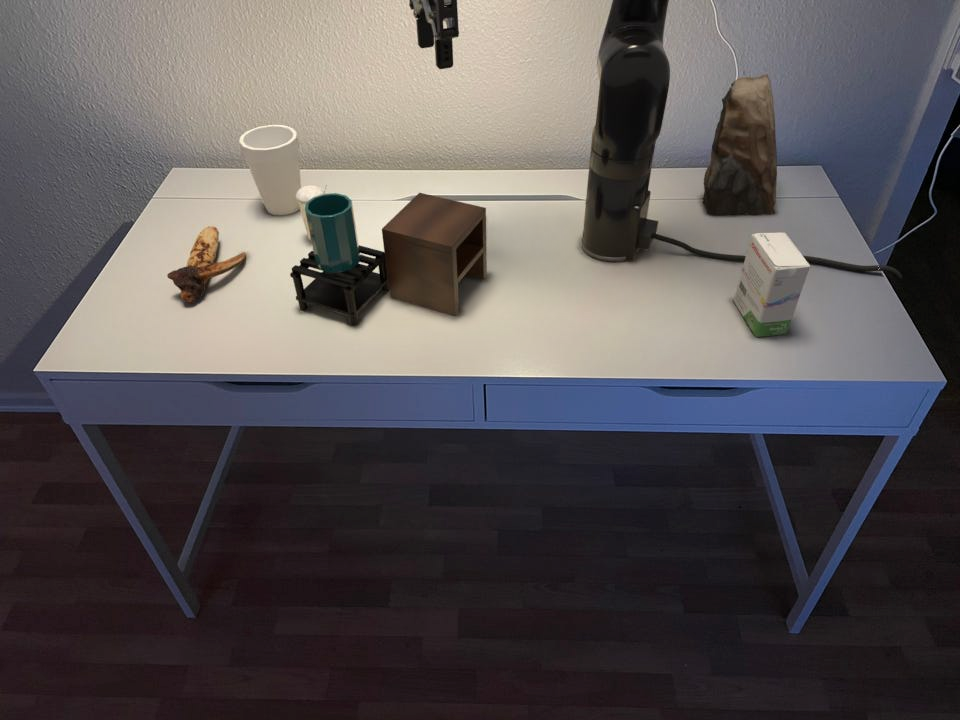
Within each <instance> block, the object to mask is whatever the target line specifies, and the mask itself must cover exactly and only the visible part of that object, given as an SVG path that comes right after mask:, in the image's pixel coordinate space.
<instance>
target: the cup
mask: <svg viewBox="0 0 960 720" xmlns="http://www.w3.org/2000/svg"><path fill="white" fill-rule="evenodd" d="M305 212H306V217H307V222H308V227H309V232H310V237H311V241H310V242H311V246H312V251H314V256H315V261H316V265H317V266H318V267H319V268H320V269H321V270H320V271H322V270H323V271H326V272H330V273H337V272H345V271H347V270H350V269H352V268H354V267H355V266H356V265H357V264H358V263H359V264H360V263H361V262H360V255H361V253H360V251H359V245H360V244H359V237H358V232H357V226H356V219H355V213H354V206H353V200H352V199H351V198H349V197H348V196H347V195H345V194H341V193H337V192H333V193H325V194H322V195H319V196H316V197H313V198H312V199H311V200H309V201H308V202H307V203H306V206H305ZM323 271H322V272H323Z"/></svg>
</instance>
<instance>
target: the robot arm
mask: <svg viewBox="0 0 960 720" xmlns="http://www.w3.org/2000/svg"><path fill="white" fill-rule="evenodd" d="M669 3H670V1H669V0H612V2H611V5H610V9H609V13H608V16H607V20H606V24H605V27H604V30H603V34H602V37H601V41H600V44H599V48H598V52H597V56H596V57H597V58H596V68H597V74H598V80H599V86H598V97H597V98H598V100H597V107H596V116H595V123H594V124H595V125H594V126H593V129H592V133H591V143H590V152H589V153H590V154H589V164H588V174H587V175H588V177H587V186H586V197H585V208H584V219H583V227H582V228H583V229H582V237H581V243H580V244H581V249H582V250H583V251H584V252H585V253H586V254H587V255H588V256H590V257H592V258H594V259H597V260H600V261H604V262H622V261H628V262H633V261H634V260H635V258H636V257H637V255H638V253H639V251H640V250H643V251H649V249H650V247H651V245H652V243H653V241H654V240H656V241H660V242H664V243H666V244H670V245H673V246H676V247H679V248H682V249H683V250H685V251H687V252H689V253H691V254H693V255H697V256H699V257H700V256H701V257H705V258H709V259H710V258H711V259H714V260H715V259H716V260H721V261H736V262H744V261H745V258H746V255H740V254H727V253H718V252H711V251H706V250H702V249H698V248H696V247H693V246H692V245H689V244H687V243H686V242H683V241H681V240H678V239H675V238H672V237H668V236H665V235H661V234H658V233H657V232H658V226H659V220H655V219H651V218H648V214H649V213H648V212H649V207H650V201H651V195H652V192H651V190H649V186H650V180H651V174H652V167H653V162H654V161H653V160H654V156H655V149H656V144H657V140H658V138H659V137H660V134H661V130H662V127H663V123H664V122H663V121H664V117H665V112H666V111H665V110H666V106H667V105H666V104H667V100H668V95H669V88H670V81H671V65H670V61H669V58H668V56H667V54H666V51H665V48H664V35H665V26H666V20H667V14H668V7H669ZM408 5H409V9H410V10H411V11H412V15H413V16H414V19H415V22H416V23H415V24H416V35H417V38H416V39H417V45H418V47H419V48H420V49H427V48H428V49H429V48H432V47H434V53H435V55H434V56H435V66H436V67H437V68H438V69H439V70H445V69H451V68H453V66H454V50H453V49H454V48H453V47H454V43H453V39H454V38H459V36H460V29H459V13H458V12H459V10H458V0H409V4H408ZM444 22H445V25H446V27H445V28H444ZM802 256H803V257H804V258H805V260H806V261H807V262H808V263H815V264H819V265H820V264H821V265H825V266H830V267H835V268H840V269H844V270H851V271H857V272H887V273H889V274H891V275H892V276H893V277H895V278H896V279H903V275H902V273H900V272H899V270H897V269H896V268H894V267H892V266H890V265H885V264H882V265H881V264H880V265H879V264H874V265H873V264H872V265H859V264H854V263H848V262H842V261H837V260H833V259H827V258H823V257H816V256H809V255H802ZM878 266H879V267H878ZM879 268H880V269H879ZM878 269H879V270H878Z"/></svg>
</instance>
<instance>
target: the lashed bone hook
mask: <svg viewBox="0 0 960 720" xmlns="http://www.w3.org/2000/svg"><path fill="white" fill-rule="evenodd" d="M219 237H220V231H219V230H218V228H217V227H215V226H207V227H205V228H203V229H202V230H201V231H200V232H199V234H198V235H197V237H196V238H195V241H194V244H193V245H192V247H191V250H190V253H189V257H188V258H187V261H186V265H185V266H183V267H180V268H177V269H175V270H172V271H170V272H168V273H167V275H166V277H167V278H168V279H170V280H171V281H172V282H173V285H175V287H177V288H178V290H180V298H181V300H182V301H183V302H185V303H193V302H195V301H197V300H198V298H202V295H204V293H205V291H206V290H205V289H206V284H207V283H208V281H209V279H211V278H215V277H218V276H220V275H223V274H225V273H228V272H230V271H232V270H234V269H235V268H236V267H238V266H240V265H241V264H242V263H243V262H244V261H245V259H246V252H241V253H239V254H237V255H235V256H232V257H231V258H228V259H225V260H223V261H219V262H217V263H216V260H217V255H216V254H217V250H218V248H219Z"/></svg>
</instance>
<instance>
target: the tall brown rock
mask: <svg viewBox="0 0 960 720" xmlns="http://www.w3.org/2000/svg"><path fill="white" fill-rule="evenodd" d="M721 102H722V109H721V111H720V113H719V114H720V115H719V119H718V122H717V124H716V128H715V133H714V138H713V141H712V144H711V151H710V163H709V165H708V166H707V167H706V170H705V172H704V176H703V177H704V178H703V189H704V191H703V195H702V197H701V198H702V204H703V206H705V209H706V213H707V214H709V215H713V216H722V215H730V216H735V215H736V216H737V215H751V216H759V215H773V214H775V213H774V207H775V205H776V204H777V179H778V158H777V156H778V154H777V153H778V151H777V139H776V135H777V134H776V120H775V119H776V118H775V116H776V115H775V103H774V97H773V89H772V82H771V79H770V76H769V75H768V73H764V74H762V75H760V76H755V77H748V76H747V77H739V78H736V79H735V80H734V81H733V82H731V84H730V87H729V89H728V91H727V92H726V94H725V96H724V97H723V98H721Z"/></svg>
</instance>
